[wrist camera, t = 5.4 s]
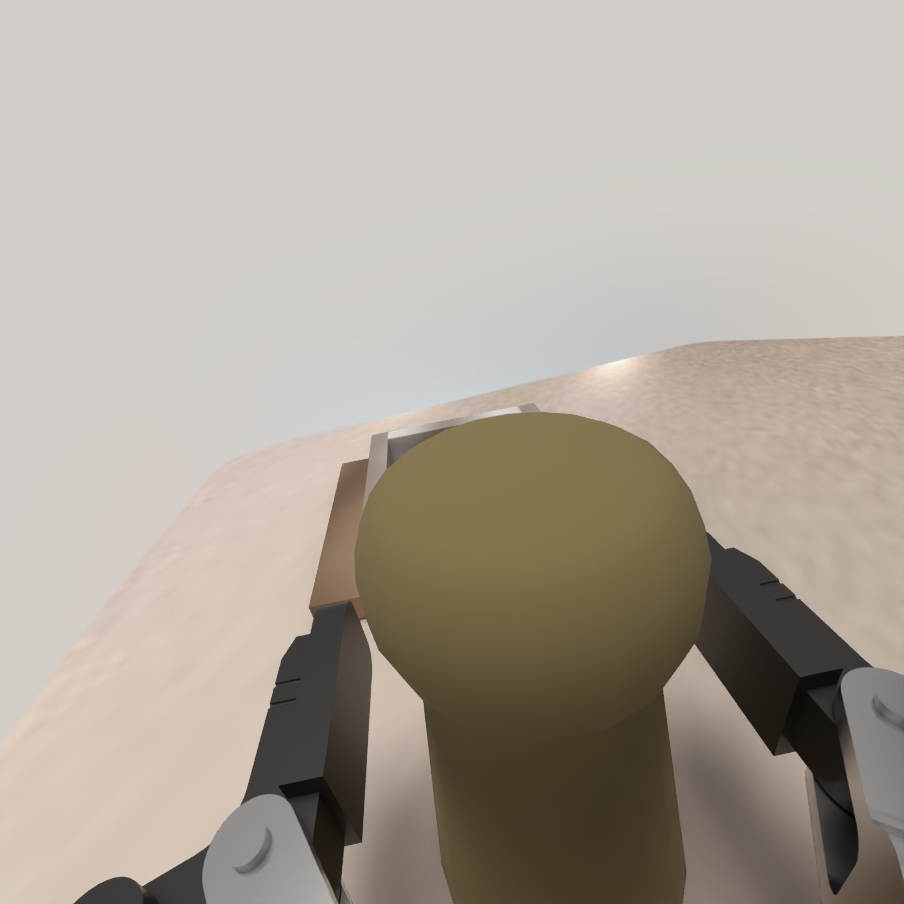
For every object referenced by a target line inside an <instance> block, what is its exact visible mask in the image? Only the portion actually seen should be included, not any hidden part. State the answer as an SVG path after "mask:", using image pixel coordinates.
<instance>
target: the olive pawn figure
mask: <svg viewBox="0 0 904 904" xmlns="http://www.w3.org/2000/svg"><path fill="white" fill-rule="evenodd" d="M354 557H355V581H356V586H357V589H358V593H359V596H360V599H361V603H362V606H363V609H364V613H365V616H366V619H367V622H368V625H369V627H370V630H371V632H372V635H373V637H374V640H375V642H376V645H377V647H378V650H379V651H380V652H381V653H382V654H383V656H384V657H385V658H386V659H387V660H388V661H389V662H390V664H391V665H392V666H393V667H394V668H395V669H396V670H397V672H398V673H399V674H400V675H401V676H402V677H403V679H404V680H405V681H406V682H407V683H408V684H409V685H410V687H411V688H412V689H413V690H414V691H415V692H416V693H417V694H418V695H419V696H420V697H421V699H422V700H423V703H424V712H425V721H426V729H427V738H428V747H429V756H430V765H431V774H432V783H433V791H434V800H435V809H436V818H437V827H438V836H439V845H440V854H441V862H442V867H443V870H444V873H445V877H446V880H447V883H448V887H449V890H450V893H451V896H452V900H453V903H454V904H682V903H683V895H684V887H685V878H686V866H685V859H684V851H683V843H682V835H681V827H680V820H679V812H678V804H677V796H676V789H675V781H674V773H673V765H672V757H671V750H670V742H669V734H668V726H667V718H666V711H665V703H664V695H663V687H664V686H665V684H666V683H667V682H668V680H669V679H670V678H671V676H672V675H673V674H674V672H675V671H676V669H677V668H678V667H679V665H680V664H681V663H682V661H683V660H684V658H685V657H686V655H687V654H688V652H689V651H690V649H691V648H692V646H693V645H694V644H695V642H696V641H697V639H698V638H699V634H700V629H701V623H702V617H703V612H704V606H705V600H706V593H707V587H708V580H709V573H710V567H711V560H712V559H711V554H710V549H709V544H708V539H707V535H706V530H705V525H704V523H703V520H702V518H701V515H700V512H699V510H698V507H697V505H696V502H695V500H694V497H693V494H692V492H691V490H690V489H689V487H688V486H687V484H686V483H685V481H684V480H683V479H682V477H681V476H680V474H679V473H678V471H677V470H676V469H675V467H674V466H673V464H672V463H671V462H669V461H668V460H667V459H666V458H665V457H664V456H663V455H662V454H661V453H660V452H659V451H658V450H657V449H656V448H655V447H654V446H653V445H651V444H650V443H649V442H648V441H645V440H643V439H641V438H639V437H637V436H635V435H633V434H631V433H629V432H627V431H625V430H623V429H621V428H619V427H616V426H613V425H611V424H608V423H605V422H601V421H597V420H593V419H589V418H585V417H581V416H577V415H572V414H560V413H548V412H530V413H512V414H503V415H498V416H493V417H487V418H482V419H477V420H473V421H470V422H467V423H464V424H461V425H458V426H455V427H452V428H449V429H446V430H444V431H442V432H440V433H438V434H436V435H435V436H433V437H431V438H429V439H427V440H425V441H423V442H421V443H419V444H418V445H416V446H415V447H414V448H412V449H411V450H409V451H408V452H407V453H406V454H404V455H403V456H402V457H401V458H400V459H398V460H397V461H396V462H395V463H393V464H392V465H391V466H390V467H389V468H387V469H386V470H385V472H384V473H383V474H382V476H381V477H380V479H379V480H378V482H377V483H376V485H375V486H374V488H373V489H372V491H371V492H370V494H369V497H368V499H367V502H366V505H365V508H364V511H363V513H362V516H361V519H360V524H359V529H358V535H357V540H356V546H355V551H354Z"/></svg>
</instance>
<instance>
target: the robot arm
mask: <svg viewBox="0 0 904 904" xmlns="http://www.w3.org/2000/svg"><path fill="white" fill-rule="evenodd" d="M706 535H707V539H708V544H709V549H710V554H711V559H712V560H711V567H710V573H709V580H708V587H707V593H706V600H705V606H704V612H703V617H702V623H701V629H700V634H699V638H698V639H697V641H696V642H695V645H696V646H697V648H698V649H699V651H700V652H701V653H702V655H703V656H704V658H705V659H706V661H707V662H708V663H709V665H710V666H711V668H712V669H713V671H714V672H715V673H716V675H717V676H718V678H719V679H720V680H721V682H722V683H723V685H724V686H725V688H726V689H727V690H728V692H729V693H730V695H731V696H732V698H733V699H734V700H735V702H736V703H737V705H738V706H739V707H740V709H741V710H742V712H743V713H744V715H745V716H746V717H747V719H748V720H749V722H750V723H751V724H752V726H753V727H754V729H755V730H756V732H757V733H758V734H759V736H760V737H761V739H762V740H763V742H764V743H765V744H766V746H767V747H768V749H769V750H770V751H771V753H772V754H773V756H776V755H781V754H786V753H790V752H795V751H796V752H797V753H798V755H799V756H800V757H801V759H802V760H803V761H804V763H805V764H806V765H807V767H806V771H805V781H806V788H807V795H808V803H809V810H810V818H811V825H812V832H813V840H814V847H815V855H816V862H817V870H818V877H819V884H820V893H821V904H904V675H901V674H898V673H896V672H892V671H889V670H885V669H880V668H874V667H872V666H871V665H870V664H869V663H868V662H866V661H865V660H864V659H863V658H862V657H861V656H860V655H859V654H858V653H857V652H855V651H854V650H853V649H852V648H851V647H850V646H849V645H848V644H847V643H846V642H845V641H844V640H843V639H842V638H841V637H839V636H838V635H837V634H836V633H835V632H834V631H833V630H832V629H831V628H830V627H829V626H828V625H827V624H826V623H825V622H823V621H822V620H821V619H820V618H819V617H818V616H817V615H816V614H815V613H814V612H813V611H812V610H811V609H810V608H809V607H807V606H806V605H805V604H804V603H803V602H802V601H801V600H800V599H796V597H795V594H794V593H793V592H791V591H790V590H789V589H788V588H787V587H786V586H785V585H784V584H783V583H782V584H780V582H779V579H778V578H777V577H775V576H774V575H773V574H772V573H771V572H770V571H769V570H768V569H767V568H766V567H765V566H764V565H763V564H762V563H760V562H759V561H758V560H756V559H754V558H752V557H750V556H748V555H747V554H745V553H743V552H741V551H739V550H737V549H735V548H729V549H724V548H723V547H722V546H721V545H720V544H719V543H718V542H717V541H716V540H715V539H714V538H713V537H712V536H711V535H710V534H709V533H708V532H706ZM371 681H372V660H371V653H370V648H369V644H368V642H367V639H366V636H365V634H364V631H363V629H362V626H361V623H360V621H359V618H358V616H357V613H356V610H355V608H354V606H353V604H352V602H350V601H349V602H344V603H339V604H334V605H329V606H324V607H319V608H317V610H316V612H315V615H314V619H313V624H312V629H311V633H310V634H308V635H303V636H298V637H296V638H295V640H294V641H293V643H292V644H291V646H290V647H289V649H288V650H287V652H286V653H285V655H284V656H283V658H282V660H281V664H280V667H279V671H278V675H277V679H276V682H275V684H276V687H275V688H274V690H273V694H272V697H271V701H270V708H269V709H268V712H267V716H266V720H265V723H264V727H263V731H262V735H261V738H260V742H259V746H258V750H257V753H256V757H255V761H254V765H253V768H252V772H251V776H250V779H249V783H248V787H247V790H246V793H245V796H244V799H243V801H242V803H241V805H240V807H238V808H237V809H236V810H235V811H234V812H233V813H232V814H231V815H230V816H229V817H228V818H227V819H226V820H225V821H224V823H223V824H222V825H221V827H220V828H219V830H218V831H217V833H216V835H215V836H214V838H213V840H212V842H211V844H210V845H208V846H207V847H206V848H205V849H204V850H202V851H201V852H199V853H198V854H196V855H195V856H193V857H191V858H190V859H188V860H186V861H184V862H183V863H181V864H179V865H178V866H176V867H174V868H173V869H171V870H169V871H168V872H166V873H164V874H163V875H161V876H159V877H157V878H156V879H154V880H152V881H151V882H149V883H147V884H146V885H144V886H141V885H139V884H138V883H137V882H136V881H134V880H132V879H131V878H127V877H116V878H112V879H109V880H106V881H104V882H102V883H100V884H98V885H97V886H95V887H94V888H92V889H91V890H89V891H88V892H86V893H85V894H84V895H83V896H82V897H80V898H79V899H78V900H77V901H76V902H75V903H74V904H353V902H352V900H351V898H350V896H349V893H348V891H347V889H346V887H345V885H344V883H343V881H342V879H341V876H342V864H343V853H344V846H348V845H352V844H357V843H362V833H363V816H364V799H365V782H366V765H367V748H368V731H369V714H370V698H371Z"/></svg>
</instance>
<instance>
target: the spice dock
mask: <svg viewBox="0 0 904 904" xmlns="http://www.w3.org/2000/svg"><path fill="white" fill-rule="evenodd" d="M530 412H540V410H539V409H538V408H537V407H536V405H535V404H534V403H532V404H526V405H521V406H516V407H511V408H506V409H501V410H496V411H491V412H486V413H481V414H476V415H471V416H466V417H461V418H456V419H451V420H446V421H441V422H436V423H431V424H426V425H421V426H416V427H411V428H406V429H401V430H396V431H391V432H386V433H381V434H376V435H372V439H371V447H370V455H369V459H364V460H359V461H354V462H349V463H344V464H342V468H341V472H340V476H339V481H338V485H337V489H336V493H335V498H334V502H333V506H332V511H331V515H330V519H329V523H328V528H327V532H326V536H325V540H324V545H323V549H322V553H321V558H320V562H319V566H318V570H317V575H316V579H315V583H314V588H313V592H312V596H311V600H310V605H309V609H310V611H311V613H312V615H313V618H314V615H315V612H316V610H317V608H319V607H324V606H329V605H334V604H339V603H344V602H349V601H350V602H352V604H353V606H354V608H355V610H356V613H357V616H358V618H359V619H362V618H366V616H365V613H364V609H363V606H362V603H361V599H360V596H359V593H358V589H357V586H356V581H355V557H354V551H355V546H356V540H357V535H358V529H359V524H360V519H361V516H362V513H363V511H364V508H365V505H366V502H367V499H368V497H369V494H370V492H371V491H372V489H373V488H374V486H375V485H376V483H377V482H378V480H379V479H380V477H381V476H382V474H383V473H384V472H385V470H386V469H387V468H389V467H390V466H391V465H392V464H393V463H395V462H396V461H397V460H398V459H400V458H401V457H402V456H403V455H404V454H406V453H407V452H408V451H409V450H411V449H412V448H414V447H415V446H416V445H418V444H419V443H421V442H423V441H425V440H427V439H429V438H431V437H433V436H435V435H436V434H438V433H440V432H442V431H444V430H446V429H449V428H452V427H455V426H458V425H461V424H464V423H467V422H470V421H473V420H477V419H482V418H487V417H493V416H498V415H503V414H512V413H530Z"/></svg>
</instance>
